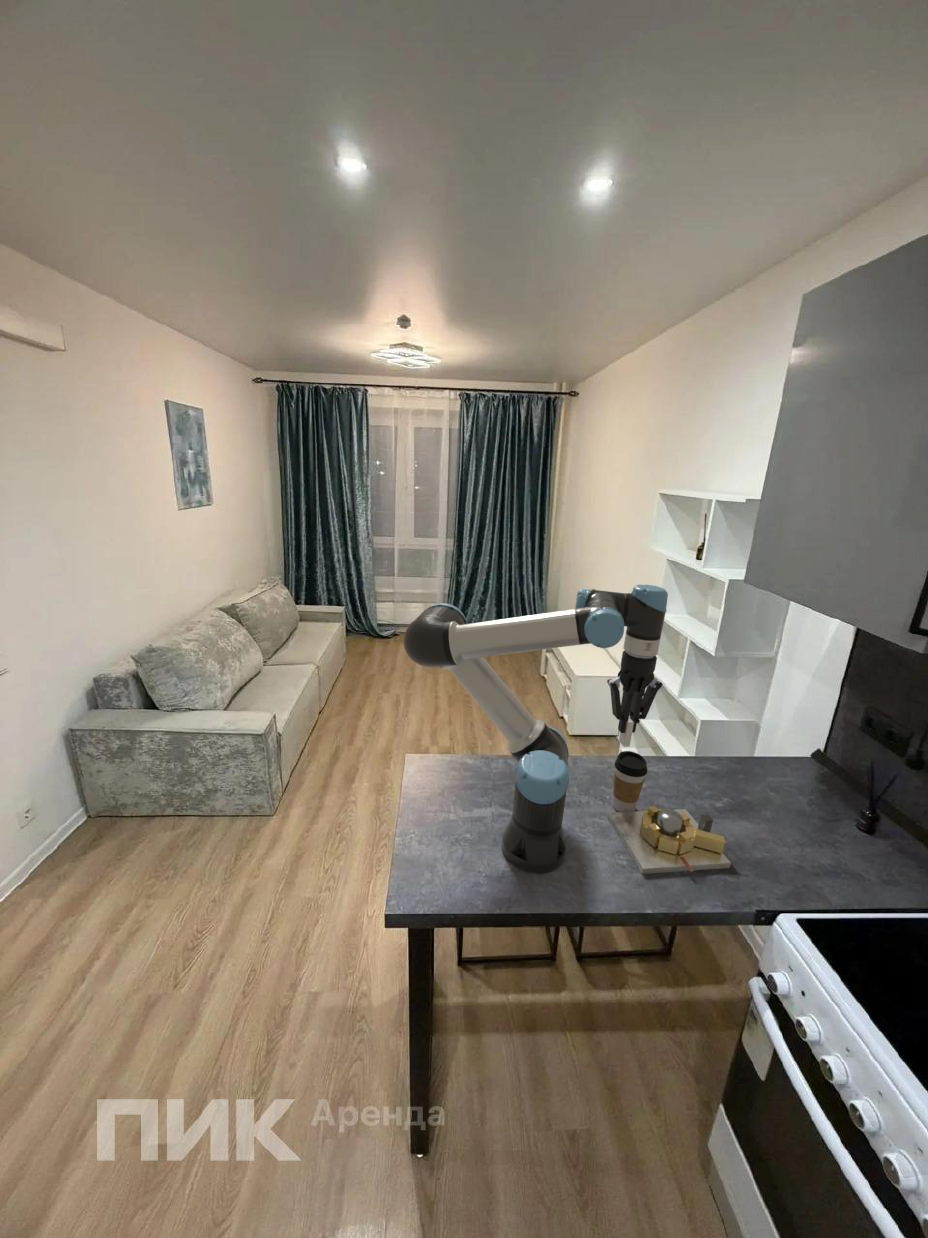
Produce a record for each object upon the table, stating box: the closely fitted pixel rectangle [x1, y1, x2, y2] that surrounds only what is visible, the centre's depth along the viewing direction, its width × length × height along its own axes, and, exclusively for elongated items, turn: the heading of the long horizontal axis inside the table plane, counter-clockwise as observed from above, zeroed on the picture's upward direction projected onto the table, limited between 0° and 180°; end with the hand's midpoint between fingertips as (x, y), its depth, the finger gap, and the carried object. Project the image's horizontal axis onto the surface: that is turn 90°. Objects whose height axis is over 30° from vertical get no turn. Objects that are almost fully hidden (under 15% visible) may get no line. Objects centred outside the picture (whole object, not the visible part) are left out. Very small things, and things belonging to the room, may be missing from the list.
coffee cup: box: [612, 750, 648, 812], centre depth 134 cm, size 8×8×15 cm
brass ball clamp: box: [641, 805, 726, 855], centre depth 122 cm, size 18×12×4 cm, turn 70°
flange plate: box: [607, 808, 732, 875], centre depth 123 cm, size 22×21×8 cm
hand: (624, 743), depth 121 cm, fingers closed
